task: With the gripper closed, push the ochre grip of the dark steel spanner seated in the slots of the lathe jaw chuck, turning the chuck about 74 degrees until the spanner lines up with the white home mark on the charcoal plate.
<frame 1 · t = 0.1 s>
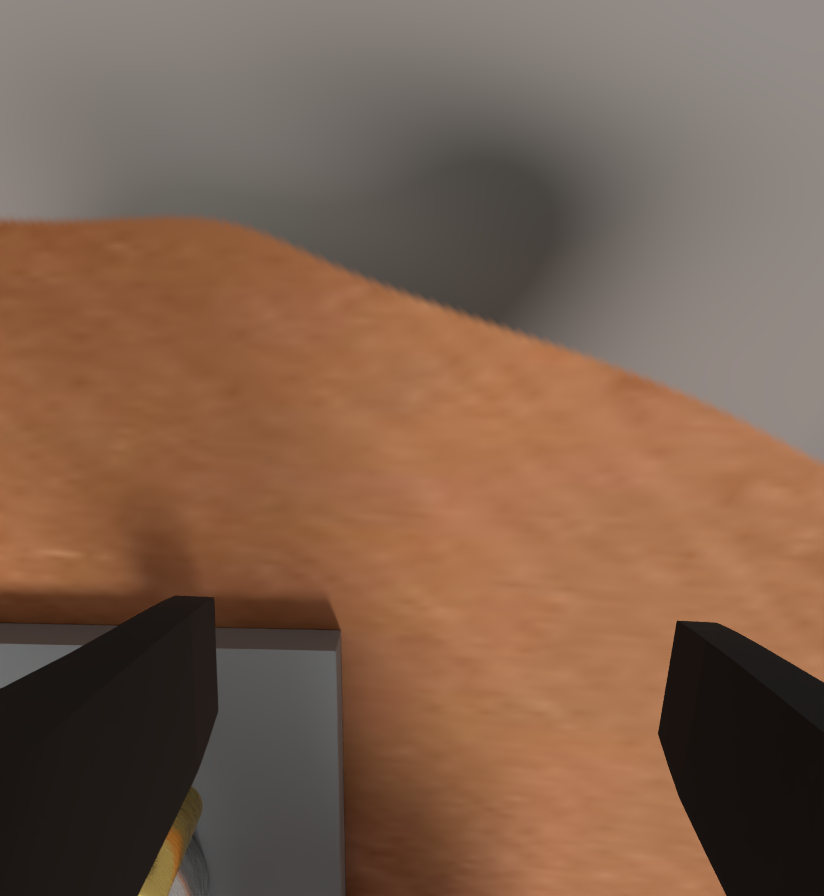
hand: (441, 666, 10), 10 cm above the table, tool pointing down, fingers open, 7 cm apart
base plate: (96, 846, 24), on the table
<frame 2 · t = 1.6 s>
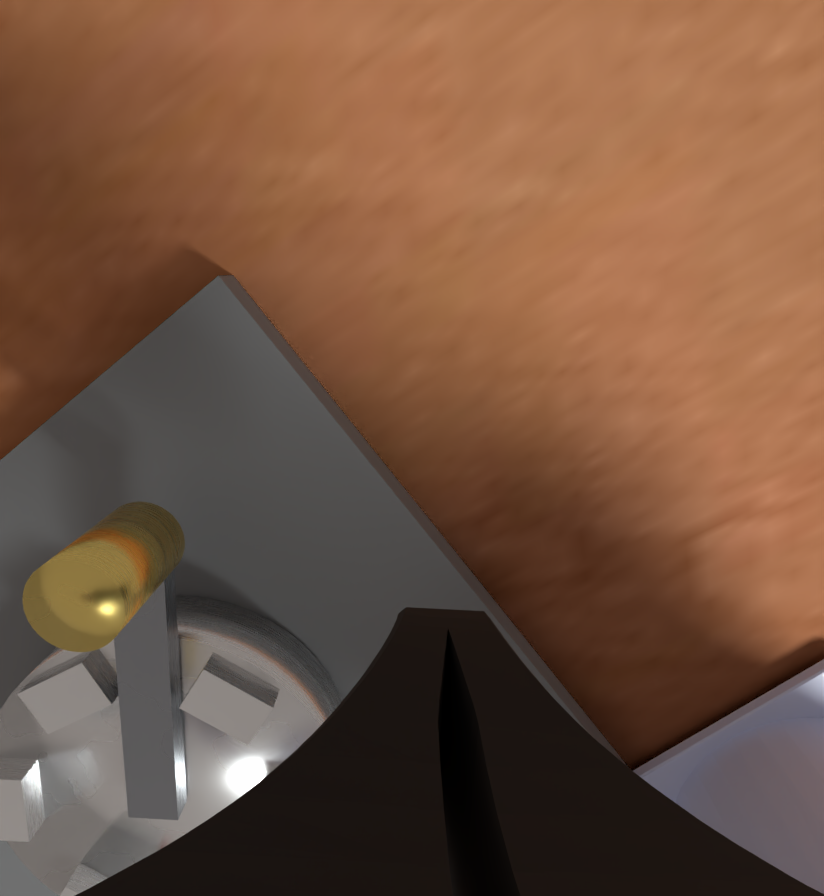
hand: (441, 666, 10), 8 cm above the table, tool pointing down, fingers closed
base plate: (207, 711, 20), on the table
lathe jaw chuck: (150, 756, 16), point 4 cm above the table, hinge at 0.0°
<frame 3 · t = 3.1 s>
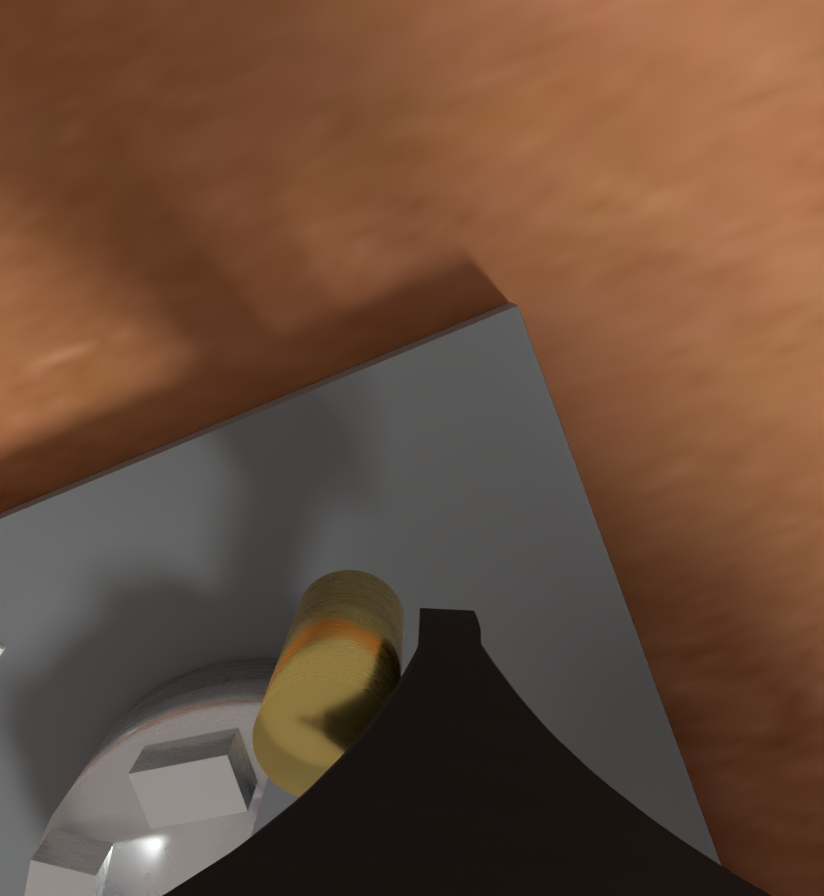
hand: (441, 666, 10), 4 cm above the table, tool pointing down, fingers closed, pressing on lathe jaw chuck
base plate: (292, 789, 16), on the table
lathe jaw chuck: (272, 878, 12), point 4 cm above the table, hinge at 1.1°, touching gripper
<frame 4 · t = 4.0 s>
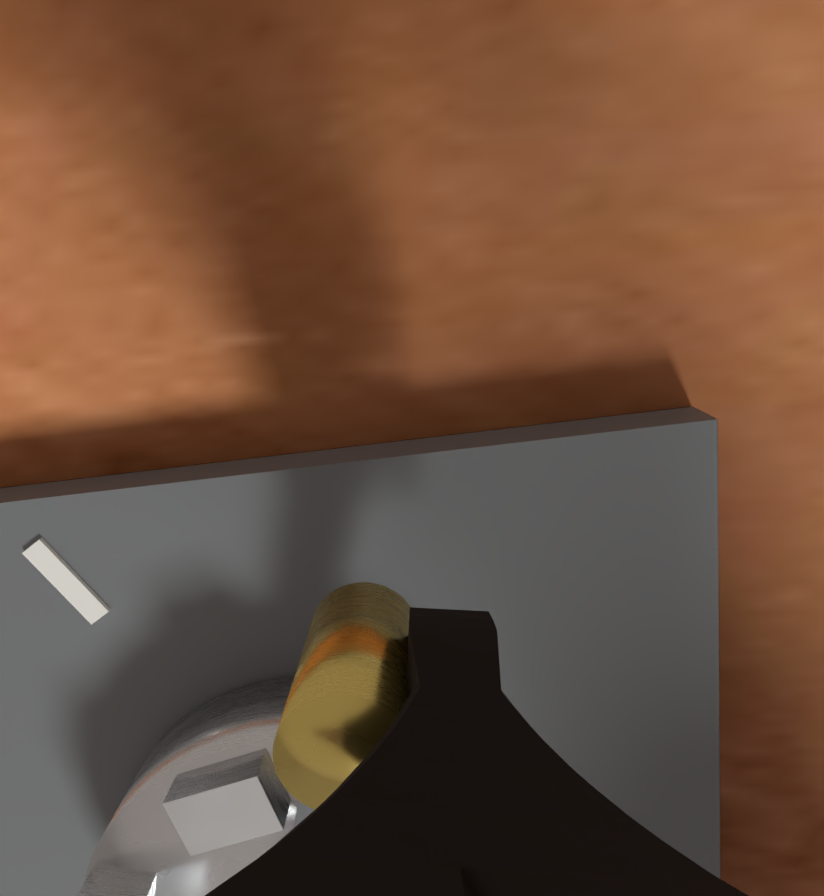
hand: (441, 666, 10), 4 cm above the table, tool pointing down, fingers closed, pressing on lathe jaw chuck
base plate: (330, 803, 16), on the table
lathe jaw chuck: (315, 894, 12), point 4 cm above the table, hinge at 22.4°, touching gripper
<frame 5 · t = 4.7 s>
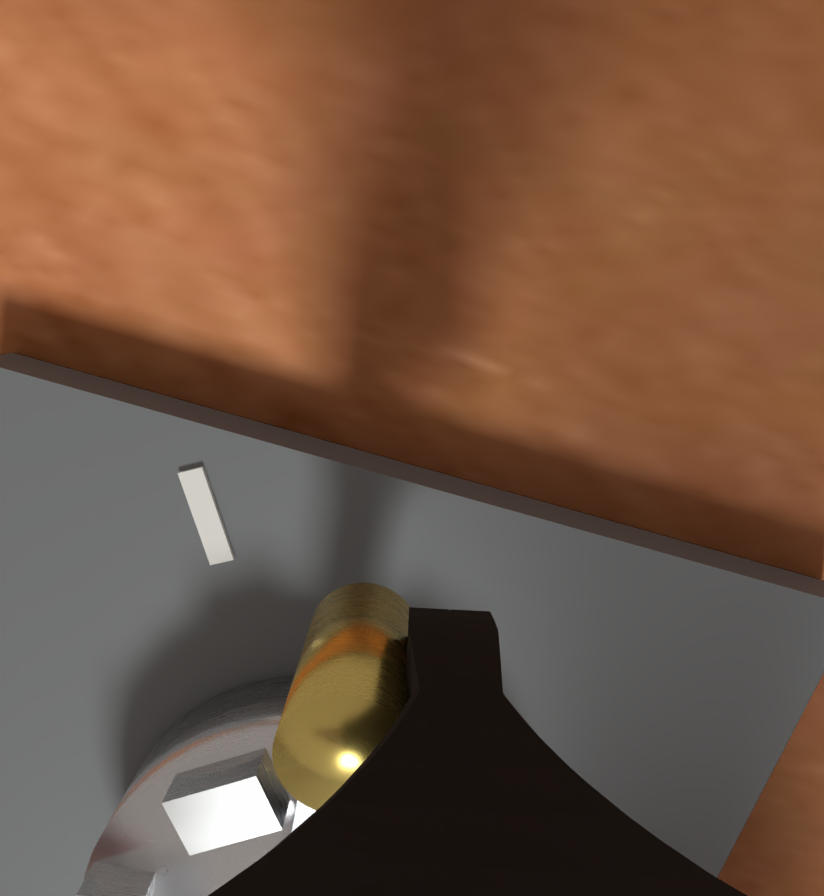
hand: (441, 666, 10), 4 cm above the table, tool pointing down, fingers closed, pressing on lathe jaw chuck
base plate: (329, 803, 16), on the table
lathe jaw chuck: (314, 894, 12), point 4 cm above the table, hinge at 45.4°, touching gripper
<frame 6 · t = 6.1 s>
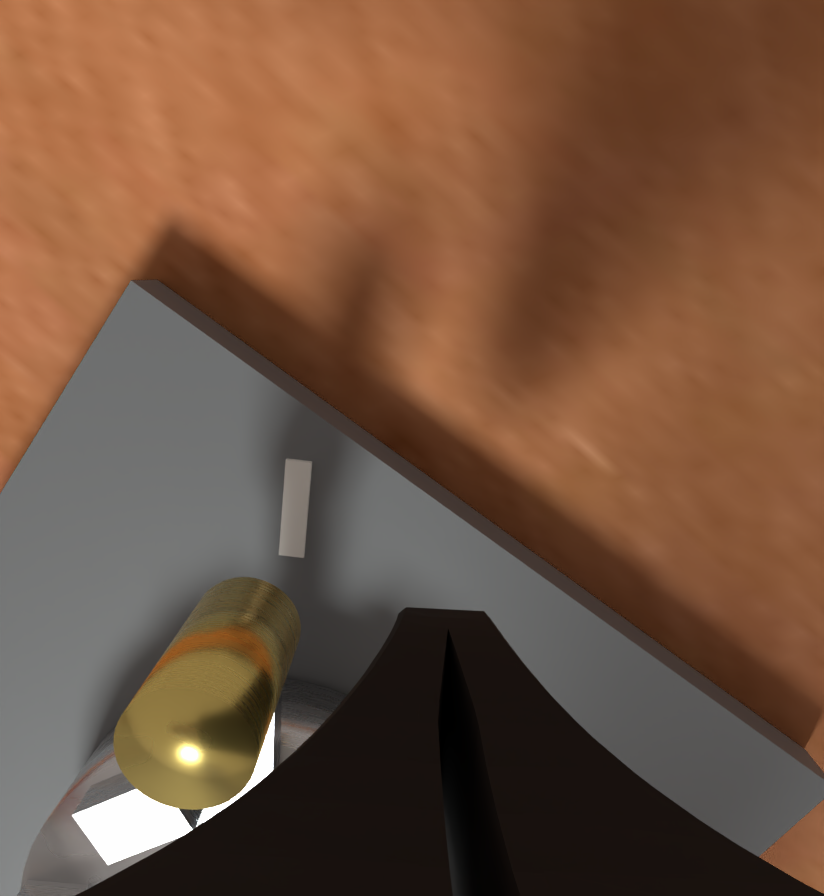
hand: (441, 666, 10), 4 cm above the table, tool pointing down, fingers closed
base plate: (280, 803, 16), on the table
lathe jaw chuck: (237, 893, 12), point 4 cm above the table, hinge at 72.3°
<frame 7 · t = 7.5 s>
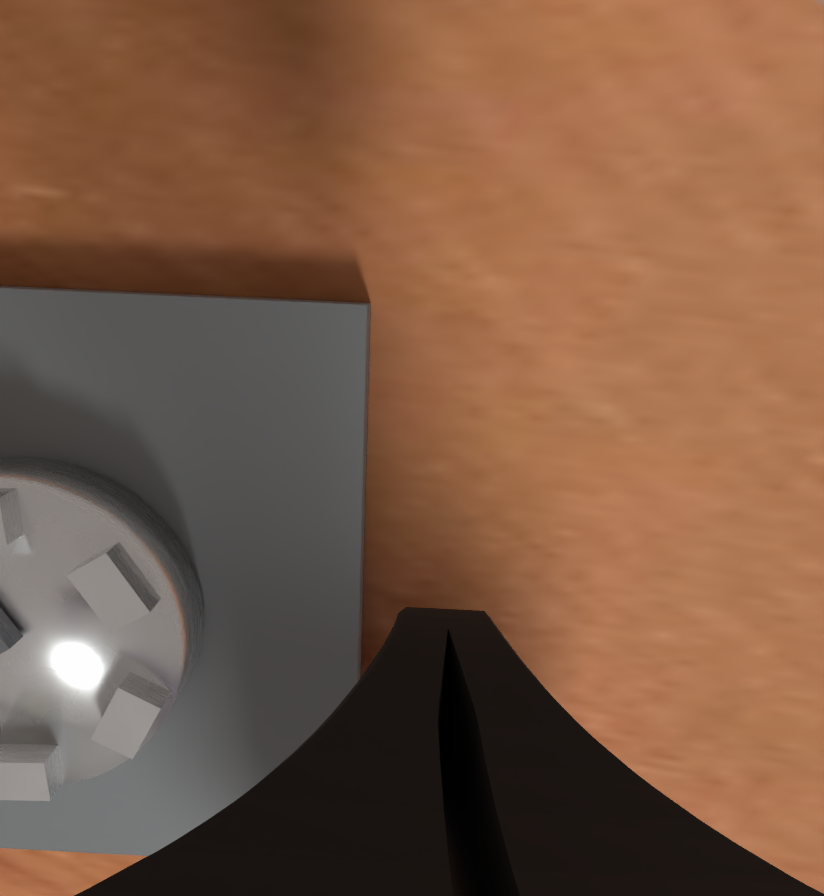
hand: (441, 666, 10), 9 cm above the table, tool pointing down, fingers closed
base plate: (73, 585, 20), on the table
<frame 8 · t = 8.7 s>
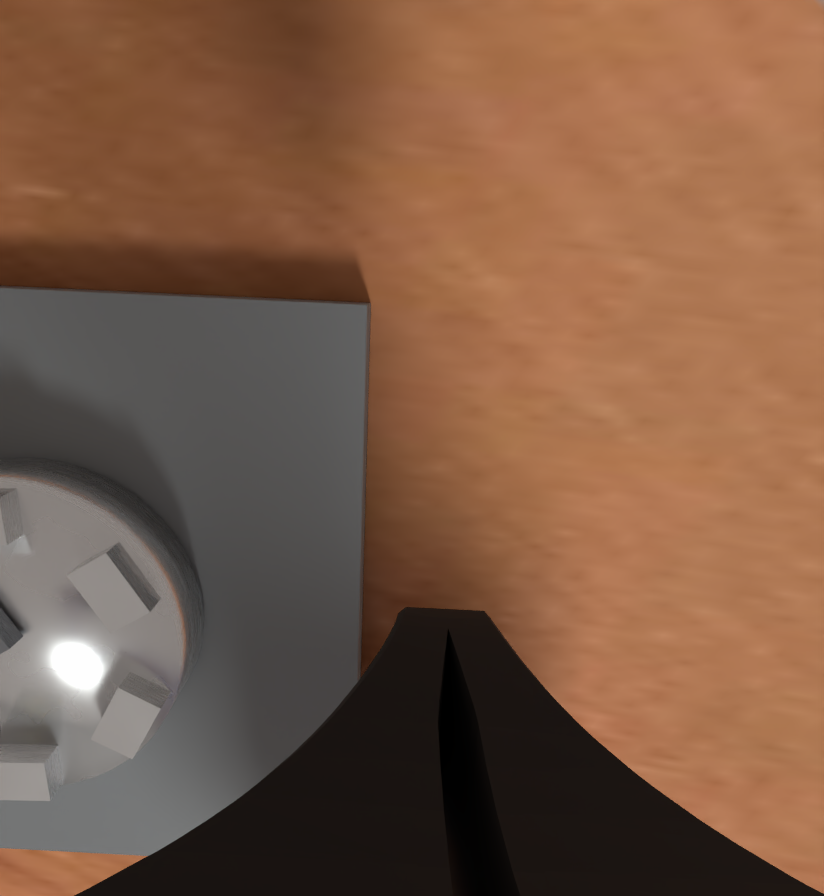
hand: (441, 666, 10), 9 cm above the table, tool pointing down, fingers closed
base plate: (73, 585, 20), on the table
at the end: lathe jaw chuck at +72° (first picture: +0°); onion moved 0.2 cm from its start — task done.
